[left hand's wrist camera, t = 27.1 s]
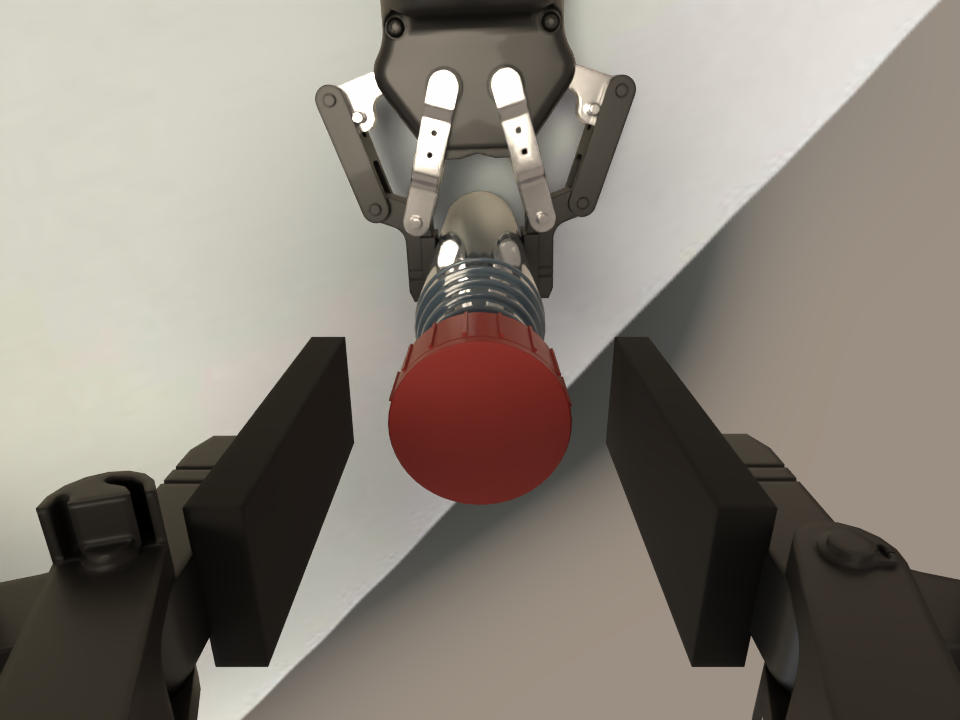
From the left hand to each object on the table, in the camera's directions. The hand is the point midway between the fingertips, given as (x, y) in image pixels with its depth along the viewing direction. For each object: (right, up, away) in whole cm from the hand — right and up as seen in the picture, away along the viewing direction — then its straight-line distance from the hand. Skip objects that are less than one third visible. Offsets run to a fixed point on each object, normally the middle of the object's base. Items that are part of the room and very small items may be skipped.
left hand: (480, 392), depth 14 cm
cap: (0, -1, -1) cm, 1 cm away
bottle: (0, +8, +21) cm, 23 cm away
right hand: (0, +3, +16) cm, 16 cm away
